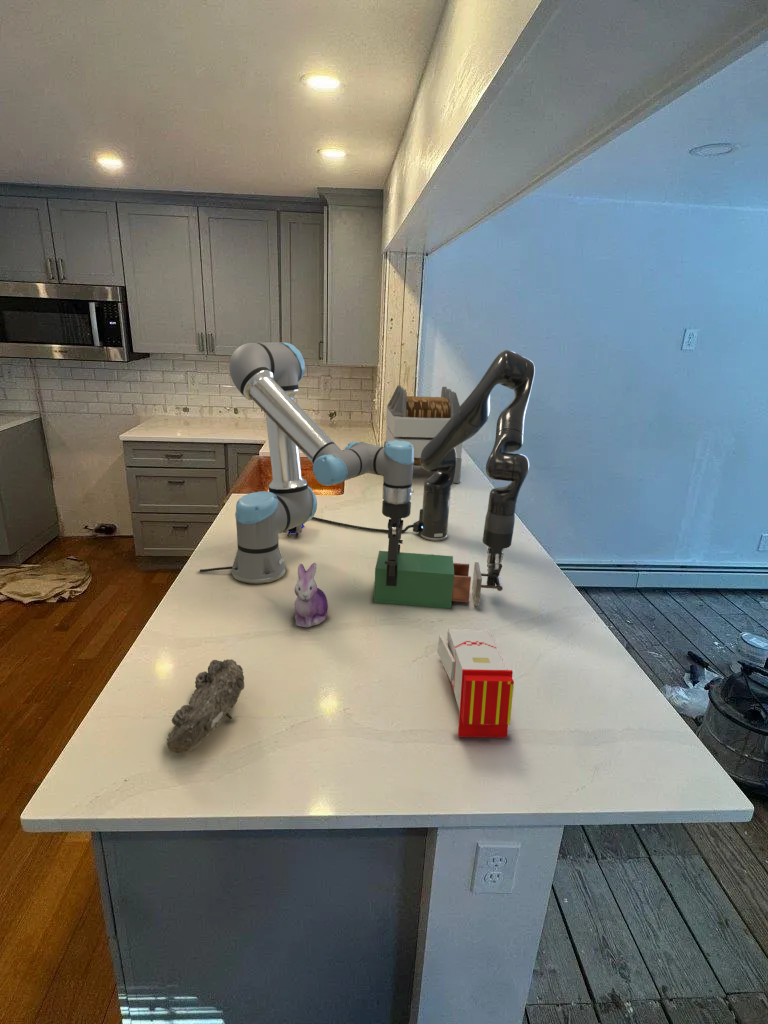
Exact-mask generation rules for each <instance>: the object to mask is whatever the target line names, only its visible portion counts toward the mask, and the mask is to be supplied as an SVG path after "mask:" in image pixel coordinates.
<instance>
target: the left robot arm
mask: <svg viewBox="0 0 768 1024" xmlns="http://www.w3.org/2000/svg"><path fill="white" fill-rule="evenodd" d="M228 365H229V366H228V368H229V376H230V379H231V380H232V383H233V384H234V386H235V388H236V389H237V390H238V392H239V393H240V394H241V395H242V396H243V397H244V398H245V399H246V400H249V401H253V402H254V403H255V404H256V405H257V406H258V407H259V408H260V409H261V410H262V411H263V413H265V421H266V422H265V423H266V431H267V438H268V448H269V457H270V458H269V459H270V465H271V466H270V467H271V475H272V480H271V481H270V483H268V486H267V487H268V491H264V490H262V491H261V490H259V491H257V492H255V491H253V492H250V493H246V494H244V495H243V496H241V497H240V498H239V499H238V500H237V501H236V504H235V514H234V517H235V525H236V526H235V527H236V543H237V549H236V554H235V557H234V560H233V563H232V566H231V565H230V566H222V567H212V568H203V569H199V572H200V573H206V572H207V573H208V572H215V571H225V570H231V574H232V577H233V579H234V580H236V581H239V582H240V583H244V584H249V585H262V584H263V585H264V584H269V583H272V582H276V581H278V580H279V579H282V578H283V577H284V576H285V574H286V563H285V559H284V556H283V555H282V553H281V550H280V546H279V545H280V543H279V537H280V535H279V534H281V533H283V532H284V531H287V530H289V529H292V528H294V527H297V526H300V525H305V524H306V523H307V522H309V521H310V520H313V519H312V517H315V514H316V512H317V508H318V499H317V495H316V493H315V492H313V491H314V490H313V488H312V487H310V486H309V483H308V481H307V480H306V479H305V478H304V477H303V476H302V465H301V456H300V455H301V454H300V451H301V453H303V454H304V456H305V457H306V458H307V459H308V460H309V461H310V462H311V463H312V473H313V474H314V475H313V476H314V478H315V480H316V481H317V482H318V483H319V484H320V485H323V486H326V487H328V486H334V485H339V484H342V483H344V482H345V481H348V480H351V479H354V478H357V477H359V476H362V475H366V474H372V475H376V476H381V477H383V480H382V481H383V483H382V506H381V513H382V515H383V516H384V517H386V518H388V522H387V530H388V533H387V539H388V547H387V551H388V559H387V561H385V564H387V578H386V586H396V584H397V567H398V562H397V557H398V552H401V544H403V543H404V540H403V539H402V533H401V531H402V530H403V529H404V519H406V518H408V517H410V515H411V511H412V510H411V509H412V502H411V500H412V494H414V493H415V489H413V475H414V474H413V473H414V466H413V463H414V447H413V445H412V444H411V443H409V442H406V441H398V440H394V441H388V442H387V443H386V444H385V447H384V446H381V445H376V444H371V443H367V442H364V441H351V442H349V443H348V444H347V445H346V446H345V447H344V449H341V448H340V446H339V445H338V444H336V443H335V442H334V441H333V440H332V439H331V438H330V436H329V435H328V434H327V433H326V432H324V430H323V429H322V428H321V427H320V426H319V425H318V424H317V423H316V422H315V421H314V420H313V419H312V418H311V417H310V416H309V415H308V414H307V413H306V412H305V410H304V409H303V408H302V407H301V406H300V405H299V404H297V402H296V401H295V395H296V394H297V393H298V392H299V382H300V381H301V380H302V379H303V376H305V372H306V364H305V359H304V357H303V354H302V353H301V351H300V350H299V349H298V348H297V347H296V346H295V345H294V344H292V343H290V342H284V341H270V342H247V343H244V344H242V345H240V346H239V347H237V348H236V349H235V350H234V351H233V353H232V354H231V357H230V359H229V364H228ZM287 532H288V531H287Z"/></svg>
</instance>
